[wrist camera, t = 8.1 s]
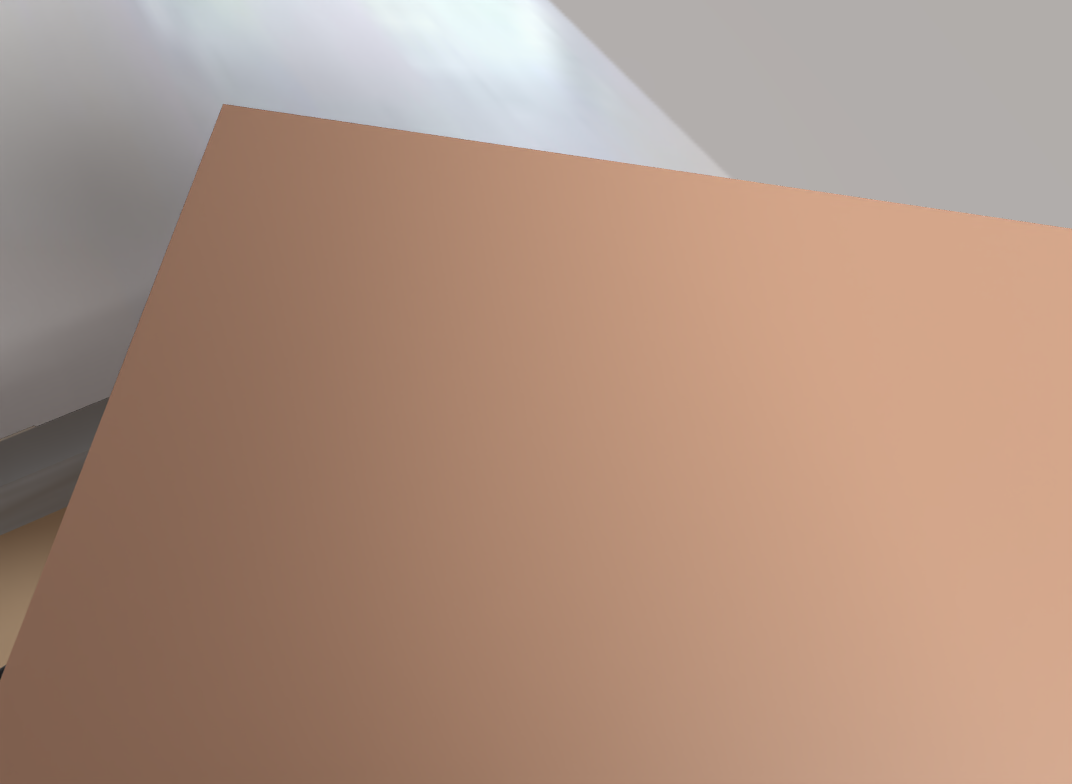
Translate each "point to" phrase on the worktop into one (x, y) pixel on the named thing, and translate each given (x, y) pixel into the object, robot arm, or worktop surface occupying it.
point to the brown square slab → (36, 505)
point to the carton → (562, 485)
